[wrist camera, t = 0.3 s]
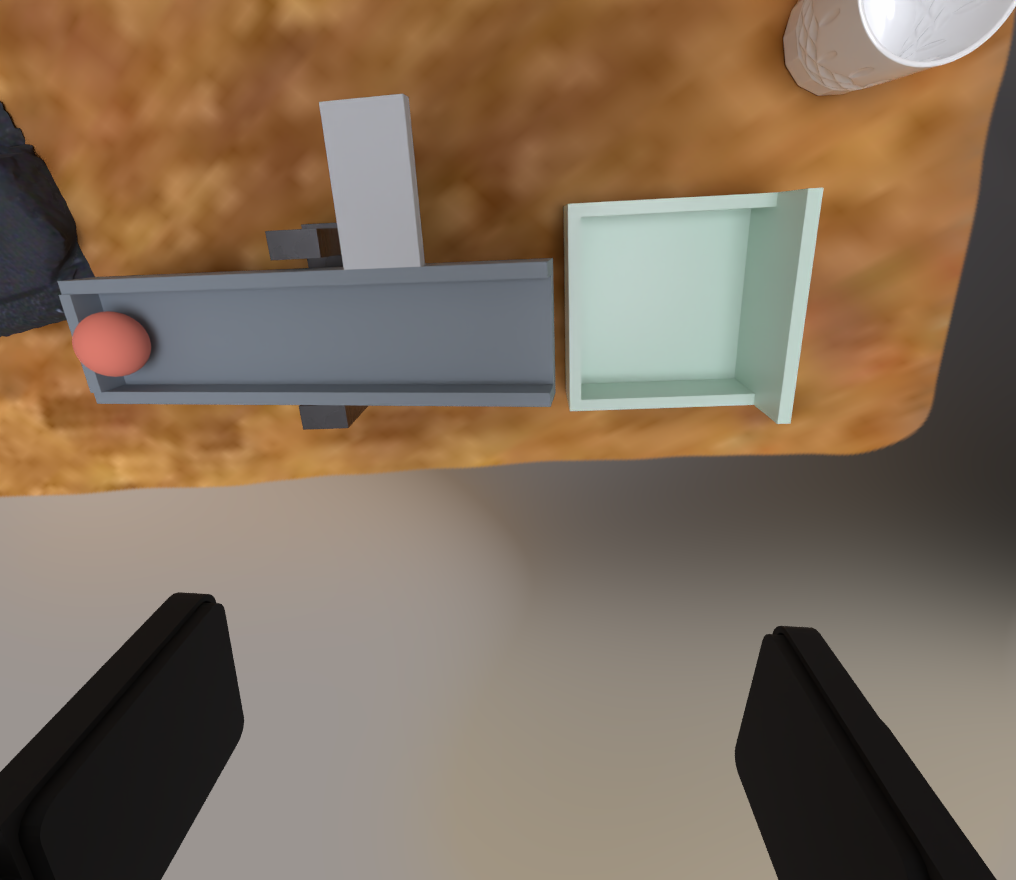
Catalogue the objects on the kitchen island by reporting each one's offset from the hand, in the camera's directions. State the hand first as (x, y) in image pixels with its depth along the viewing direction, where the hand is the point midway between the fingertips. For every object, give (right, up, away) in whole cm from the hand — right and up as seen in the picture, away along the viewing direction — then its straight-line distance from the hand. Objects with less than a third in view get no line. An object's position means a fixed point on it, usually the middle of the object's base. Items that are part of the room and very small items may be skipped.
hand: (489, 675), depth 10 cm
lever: (-11, +16, +26) cm, 33 cm away
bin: (+11, +14, +32) cm, 37 cm away
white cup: (+21, +30, +26) cm, 45 cm away
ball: (-24, +10, +25) cm, 36 cm away
